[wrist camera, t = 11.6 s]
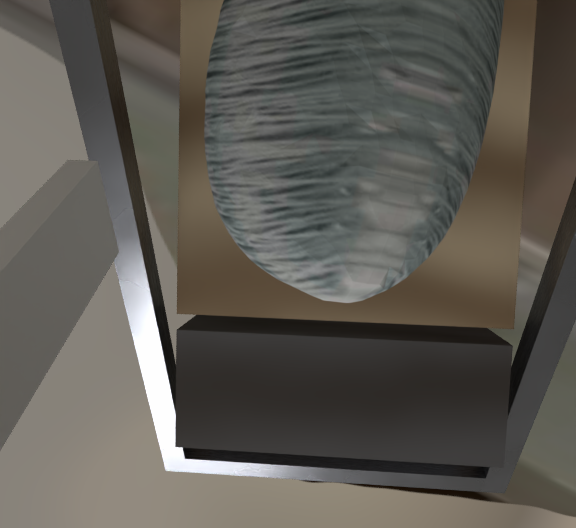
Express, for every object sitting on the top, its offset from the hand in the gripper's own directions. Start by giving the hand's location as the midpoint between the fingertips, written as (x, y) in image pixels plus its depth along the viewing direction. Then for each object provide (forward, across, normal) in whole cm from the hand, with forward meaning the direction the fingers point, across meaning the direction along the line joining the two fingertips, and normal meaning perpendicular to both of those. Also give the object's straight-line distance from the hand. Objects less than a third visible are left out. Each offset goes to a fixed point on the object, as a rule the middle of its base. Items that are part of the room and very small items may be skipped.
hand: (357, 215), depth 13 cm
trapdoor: (+12, 0, +7) cm, 14 cm away
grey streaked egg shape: (+10, 0, +1) cm, 10 cm away
